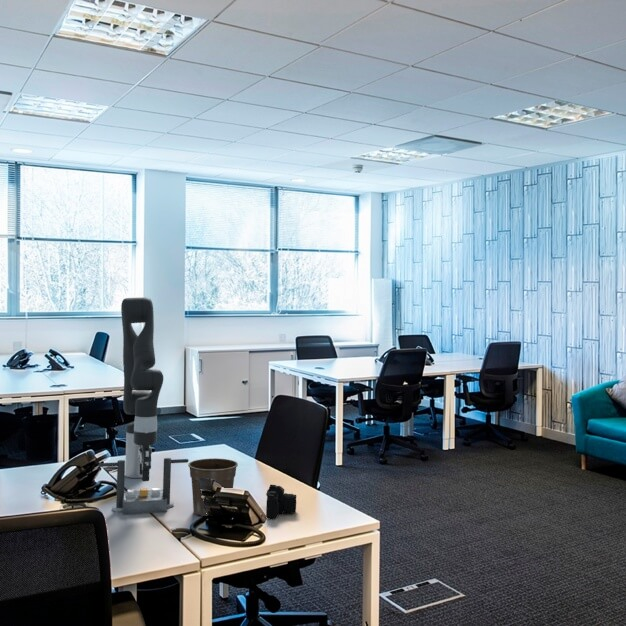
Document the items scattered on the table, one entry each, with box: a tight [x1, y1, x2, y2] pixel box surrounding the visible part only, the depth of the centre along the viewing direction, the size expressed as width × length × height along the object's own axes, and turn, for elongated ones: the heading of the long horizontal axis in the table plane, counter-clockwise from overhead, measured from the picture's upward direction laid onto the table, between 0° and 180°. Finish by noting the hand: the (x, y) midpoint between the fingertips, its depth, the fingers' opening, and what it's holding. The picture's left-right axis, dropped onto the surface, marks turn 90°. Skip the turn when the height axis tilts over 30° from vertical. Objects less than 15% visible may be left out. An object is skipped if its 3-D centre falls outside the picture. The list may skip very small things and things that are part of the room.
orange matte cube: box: [139, 487, 148, 497], centre depth 223 cm, size 2×2×2 cm
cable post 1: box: [98, 459, 126, 513], centre depth 220 cm, size 5×10×16 cm, turn 110°
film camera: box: [265, 484, 297, 520], centre depth 223 cm, size 15×10×9 cm, turn 177°
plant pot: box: [187, 457, 239, 517], centre depth 221 cm, size 16×16×16 cm
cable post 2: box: [162, 457, 189, 509], centre depth 227 cm, size 5×10×16 cm, turn 110°
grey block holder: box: [122, 487, 168, 516], centre depth 223 cm, size 12×14×6 cm
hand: (144, 477), depth 223 cm, fingers open, 8 cm apart
